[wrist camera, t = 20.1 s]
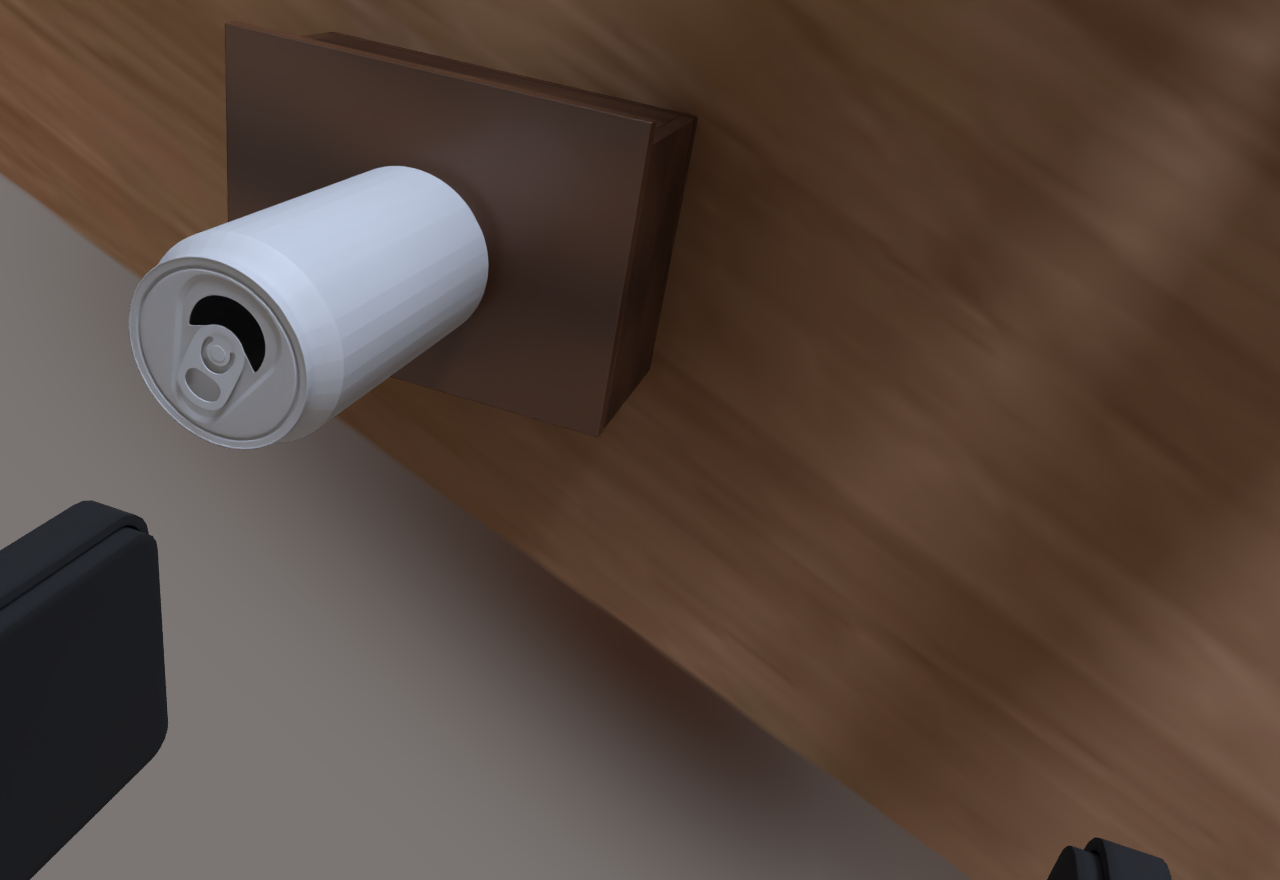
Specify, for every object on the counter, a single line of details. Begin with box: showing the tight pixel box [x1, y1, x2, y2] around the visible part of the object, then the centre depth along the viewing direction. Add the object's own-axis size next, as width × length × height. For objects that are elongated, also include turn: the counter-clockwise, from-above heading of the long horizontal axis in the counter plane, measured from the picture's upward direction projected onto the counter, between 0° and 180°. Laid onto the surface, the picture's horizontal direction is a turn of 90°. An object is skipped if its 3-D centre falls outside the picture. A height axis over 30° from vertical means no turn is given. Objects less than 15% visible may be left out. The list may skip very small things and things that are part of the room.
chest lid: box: [225, 22, 657, 437], centre depth 39 cm, size 12×16×1 cm
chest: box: [300, 32, 697, 429], centre depth 42 cm, size 11×16×7 cm
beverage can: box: [128, 166, 488, 450], centre depth 34 cm, size 6×6×12 cm
